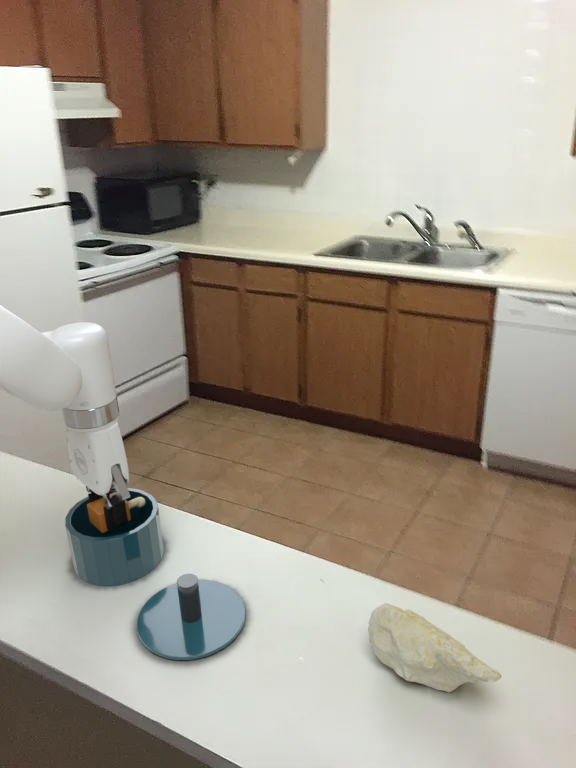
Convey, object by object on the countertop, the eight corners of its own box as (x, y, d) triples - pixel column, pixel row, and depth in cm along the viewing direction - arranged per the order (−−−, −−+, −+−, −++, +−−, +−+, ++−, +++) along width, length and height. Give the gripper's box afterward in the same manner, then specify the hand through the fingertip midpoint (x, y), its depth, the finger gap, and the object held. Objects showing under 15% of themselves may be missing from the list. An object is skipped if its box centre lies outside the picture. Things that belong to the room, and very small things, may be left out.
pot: (134, 595, 96) (127, 547, 93) (56, 577, 101) (46, 530, 97) (179, 539, 108) (173, 495, 105) (106, 525, 112) (99, 482, 109)
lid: (218, 675, 83) (214, 631, 80) (116, 648, 87) (109, 606, 84) (261, 596, 95) (258, 556, 92) (170, 577, 100) (165, 538, 97)
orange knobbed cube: (138, 499, 106) (135, 478, 104) (152, 509, 103) (148, 488, 102) (89, 521, 101) (85, 499, 99) (102, 533, 98) (98, 510, 97)
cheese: (356, 644, 89) (349, 659, 75) (381, 593, 90) (378, 598, 76) (464, 706, 85) (477, 734, 71) (488, 652, 86) (506, 670, 72)
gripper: (40, 401, 97) (62, 506, 104) (94, 440, 85) (114, 556, 93) (88, 385, 102) (105, 488, 109) (145, 421, 90) (160, 532, 97)
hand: (109, 518), depth 101 cm, fingers closed on orange knobbed cube, 4 cm apart
